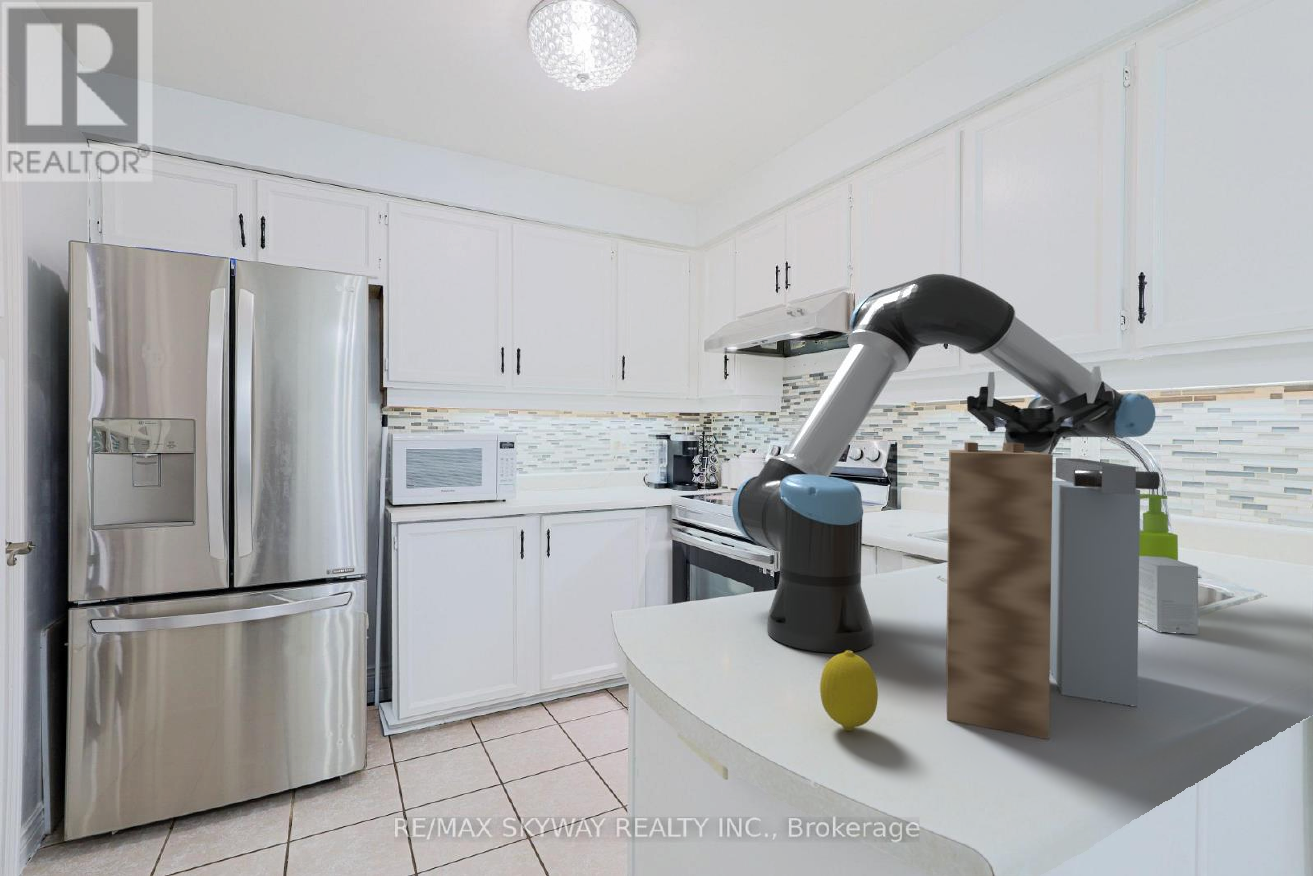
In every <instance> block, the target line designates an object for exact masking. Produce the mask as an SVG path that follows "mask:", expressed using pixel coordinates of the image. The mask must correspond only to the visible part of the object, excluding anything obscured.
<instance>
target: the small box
mask: <svg viewBox="0 0 1313 876" xmlns="http://www.w3.org/2000/svg"><path fill="white" fill-rule="evenodd" d="M1138 620H1142V621H1148V622H1141V623H1147V626H1149V627H1152V628H1153V629H1154V630H1156V631H1159V632H1158V633H1161V632H1176V633H1175V634H1180V633H1185V634H1184V635H1186V634H1187V635H1199V567H1198V566H1197V565H1193V564H1190V563H1186V562H1184V561H1180V560H1178V561H1177V560H1174V559H1170V558H1167V557H1152V556H1139V605H1138ZM1154 630H1153V631H1154ZM1156 631H1155V632H1156ZM1160 631H1161V632H1160Z"/></svg>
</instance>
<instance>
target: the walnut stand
mask: <svg viewBox="0 0 1313 876" xmlns="http://www.w3.org/2000/svg"><path fill="white" fill-rule="evenodd" d="M963 445H964V449H948V490H947V491H948V493H947V494H948V499H947V500H948V502H947V504H948V508H947V512H948V513H947V567H946V569H947V572H946V573H947V574H946V576H947V577H946V578H947V579H946V583H947V584H946V641H945V642H946V648H945V649H946V651H945V652H946V654H945V656H946V657H945V666H946V668H945V672H946V674H945V675H946V677H945V678H946V685H945V686H946V720H947V721H951V722H956V723H961V724H962V723H963V724H968V725H972V726H977V727H981V728H987V729H994V730H997V731H1003V732H1009V733H1014V734H1018V735H1023V736H1024V735H1025V736H1028V737H1029V736H1030V737H1034V738H1040V739H1045V740H1049V739H1050V737H1049V736H1050V681H1051V680H1050V677H1051V676H1050V674H1051V671H1050V613H1051V543H1052V481H1053V468H1054V467H1053V466H1054V465H1053V463H1054V462H1053V461H1054V459H1053V458H1054V455H1053V454H1052V453H1051V454H1045V453H1038V452H1031V451H1024V444H1021V443H1004V442H1003V444H1002V449H1003V451H1002V450H993V449H992V450H990V449H989V450H988V449H987V450H985V449H984V450H981V449H980V450H979V442H973V441H972V442H971V441H969V442H968V441H967V442H966V441H965V442H964V444H963Z"/></svg>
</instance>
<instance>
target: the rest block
mask: <svg viewBox="0 0 1313 876" xmlns="http://www.w3.org/2000/svg"><path fill="white" fill-rule="evenodd" d="M1140 494H1141V489H1135V494H1112V493H1100V492H1097V491H1094V490H1091V489H1088V488H1085V487H1081V486H1074V484H1073V483H1071V482H1068V481H1065V480H1052V543H1051V613H1050V670H1051V671H1050V673H1051V672H1052V673H1051V675H1052V674H1053V675H1052V677H1053V679H1054V678H1055V679H1054V681H1056V682H1055V683H1057V684H1056V685H1058V686H1057V688H1058V687H1059V688H1058V690H1059V693H1060V694H1061V695H1062V696H1069V697H1074V698H1080V699H1087V700H1094V701H1098V700H1101V701H1100V702H1104V701H1106V702H1105V703H1110V702H1112V704H1116V703H1117V705H1123V704H1124V706H1128V705H1133V706H1132V707H1134V706H1137V707H1138V667H1139V666H1138V664H1139V663H1138V662H1139V661H1138V659H1139V658H1138V657H1139V652H1138V651H1139V623H1138V605H1139V538H1140V531H1141V528H1140V526H1141V499H1140ZM1102 700H1103V701H1102ZM1113 702H1114V703H1113ZM1118 703H1119V704H1118Z"/></svg>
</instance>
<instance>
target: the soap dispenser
mask: <svg viewBox="0 0 1313 876" xmlns="http://www.w3.org/2000/svg"><path fill="white" fill-rule="evenodd" d="M1141 499H1148V510H1146V511H1145V512H1143V513H1142V530H1140V538H1139V556H1152V557H1167V558H1170V559H1174V560H1177V561H1179V547H1178V546H1179V544H1178V543H1179V542H1178V537H1179V536H1178V534H1176V533H1172V532H1169V514H1168V513H1165V511H1162V500H1168V496H1167V495H1162V494H1153V493H1140V500H1141Z"/></svg>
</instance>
